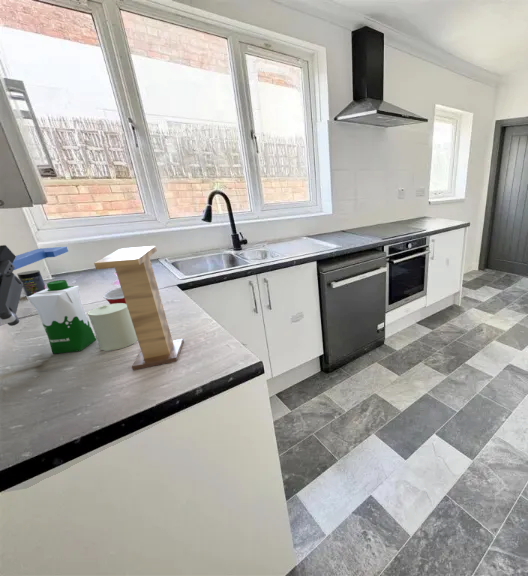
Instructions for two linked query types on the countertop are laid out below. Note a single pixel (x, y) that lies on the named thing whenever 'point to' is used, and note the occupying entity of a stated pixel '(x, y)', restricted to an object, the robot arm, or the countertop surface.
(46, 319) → the milk carton
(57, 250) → the blue long flat bar
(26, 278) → the supplement container
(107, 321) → the can
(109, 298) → the plastic cup
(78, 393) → the countertop surface
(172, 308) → the countertop surface
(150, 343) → the stand
